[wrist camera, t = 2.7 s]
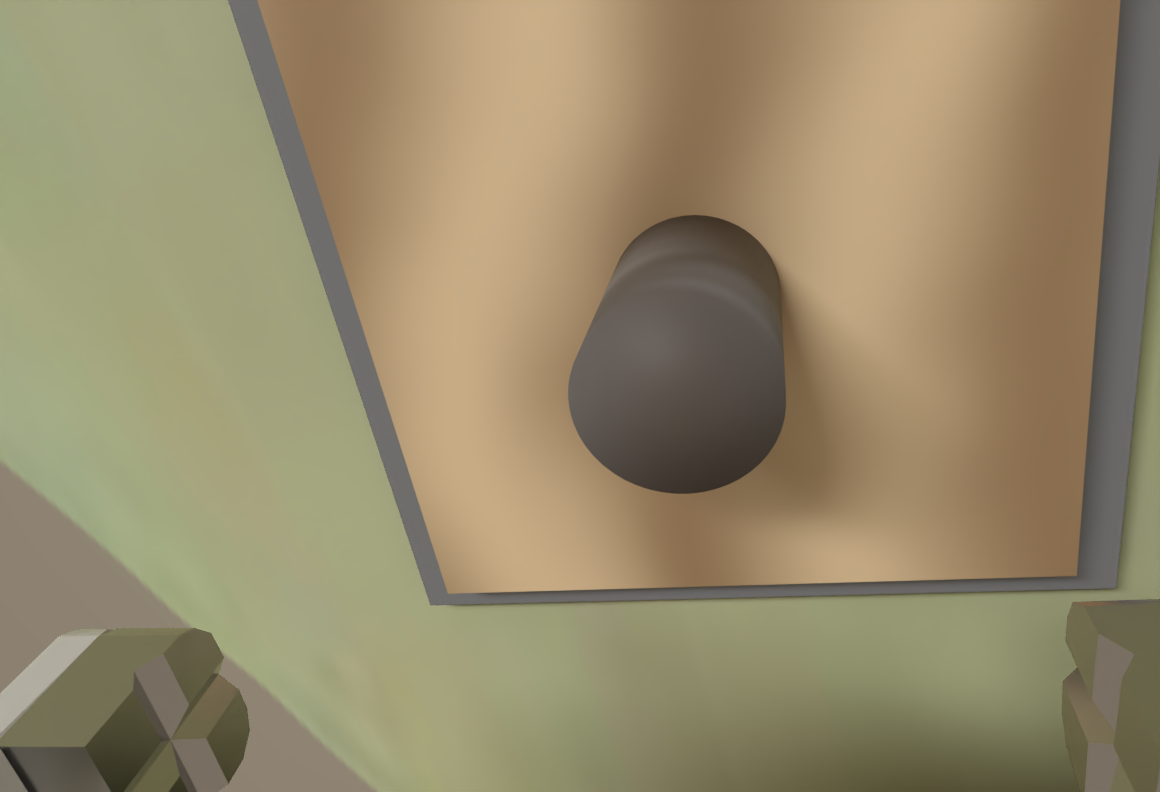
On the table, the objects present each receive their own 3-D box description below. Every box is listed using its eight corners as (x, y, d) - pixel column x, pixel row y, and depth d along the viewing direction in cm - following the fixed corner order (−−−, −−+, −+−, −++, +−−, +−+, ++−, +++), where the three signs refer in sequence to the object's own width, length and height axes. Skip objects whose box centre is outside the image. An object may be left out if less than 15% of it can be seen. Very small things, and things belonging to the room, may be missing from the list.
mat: (1193, -330, 11) (1209, -340, 11) (1107, 572, 18) (1115, 588, 18) (216, -81, 15) (200, -82, 15) (437, 591, 22) (430, 605, 21)
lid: (1116, -225, 12) (1311, -314, 8) (1064, 549, 17) (1159, 745, 13) (272, -29, 15) (82, -15, 11) (458, 571, 21) (381, 733, 16)
